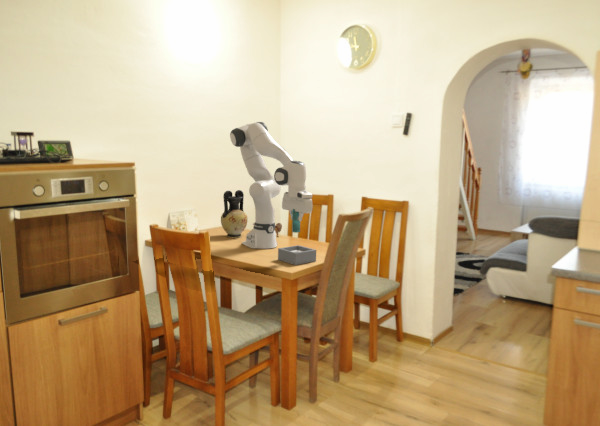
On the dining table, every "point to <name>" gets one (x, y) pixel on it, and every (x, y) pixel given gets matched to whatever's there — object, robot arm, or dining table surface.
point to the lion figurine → (278, 228)
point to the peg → (295, 222)
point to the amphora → (234, 214)
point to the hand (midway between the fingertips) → (296, 220)
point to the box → (297, 255)
